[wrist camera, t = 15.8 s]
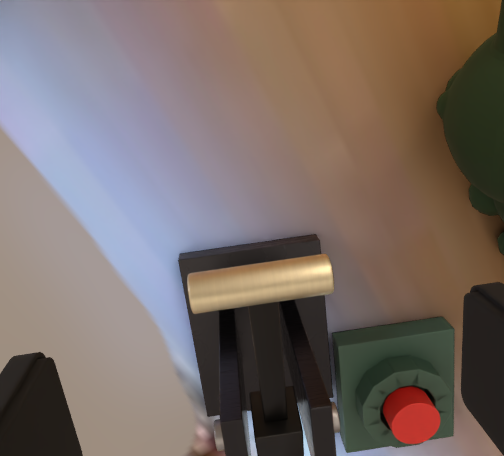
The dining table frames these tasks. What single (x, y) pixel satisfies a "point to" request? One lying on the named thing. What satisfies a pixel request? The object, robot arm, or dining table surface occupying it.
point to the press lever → (266, 334)
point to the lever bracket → (243, 355)
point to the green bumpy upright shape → (479, 123)
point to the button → (411, 415)
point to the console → (391, 377)
